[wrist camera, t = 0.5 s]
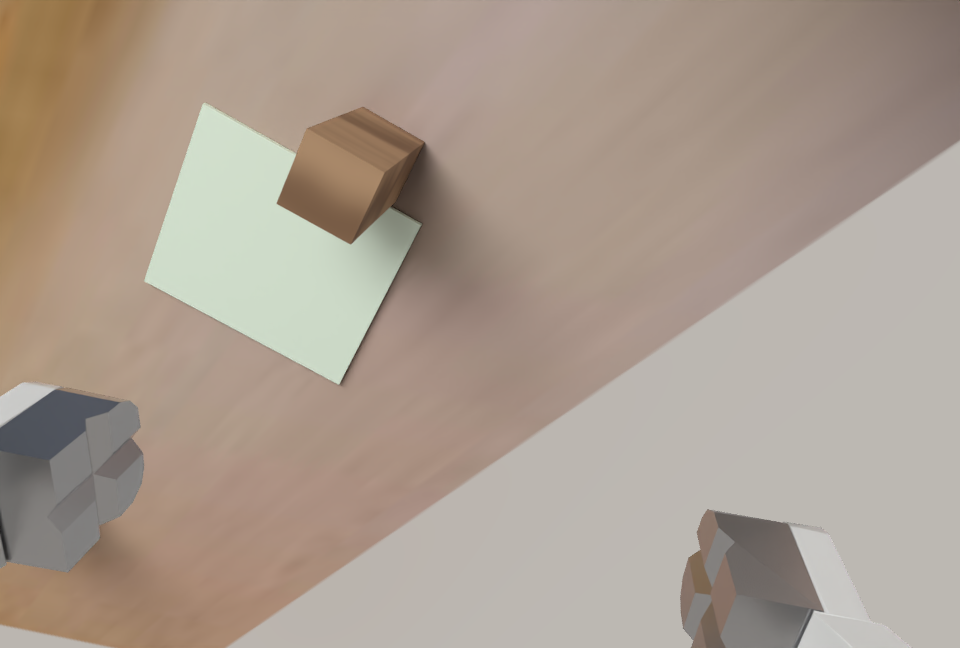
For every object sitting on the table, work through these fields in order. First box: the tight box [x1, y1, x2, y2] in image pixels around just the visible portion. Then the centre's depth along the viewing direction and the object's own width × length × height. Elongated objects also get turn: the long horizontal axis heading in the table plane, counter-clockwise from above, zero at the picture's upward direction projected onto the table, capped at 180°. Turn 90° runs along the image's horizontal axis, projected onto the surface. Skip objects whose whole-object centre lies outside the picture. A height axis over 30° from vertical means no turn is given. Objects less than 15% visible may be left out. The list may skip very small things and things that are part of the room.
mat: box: [144, 103, 422, 385], centre depth 54 cm, size 16×18×1 cm
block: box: [276, 107, 425, 245], centre depth 45 cm, size 5×5×11 cm
